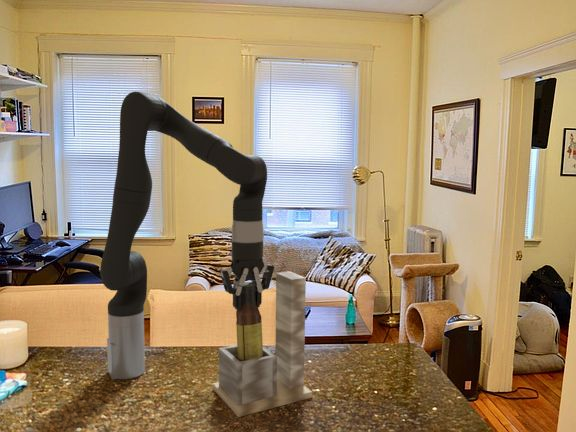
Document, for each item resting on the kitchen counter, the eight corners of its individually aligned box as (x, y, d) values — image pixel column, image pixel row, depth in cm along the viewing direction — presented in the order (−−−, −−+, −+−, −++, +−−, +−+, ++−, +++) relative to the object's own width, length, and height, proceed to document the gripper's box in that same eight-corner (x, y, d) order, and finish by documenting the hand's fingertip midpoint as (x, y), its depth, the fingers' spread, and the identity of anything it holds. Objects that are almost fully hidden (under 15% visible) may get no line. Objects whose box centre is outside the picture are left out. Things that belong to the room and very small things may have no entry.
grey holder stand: (238, 417, 115) (238, 291, 111) (212, 388, 129) (212, 276, 125) (312, 397, 125) (314, 281, 121) (281, 373, 138) (282, 268, 135)
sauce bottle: (267, 359, 126) (267, 282, 123) (255, 369, 120) (254, 288, 117) (244, 355, 128) (243, 279, 126) (231, 364, 123) (230, 285, 120)
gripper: (266, 234, 127) (266, 300, 129) (213, 238, 120) (213, 308, 122) (281, 239, 120) (280, 308, 122) (225, 243, 113) (225, 316, 115)
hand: (247, 307), depth 122 cm, fingers closed on sauce bottle, 4 cm apart
